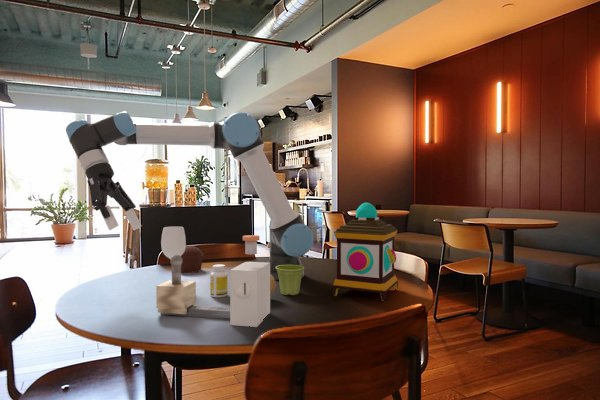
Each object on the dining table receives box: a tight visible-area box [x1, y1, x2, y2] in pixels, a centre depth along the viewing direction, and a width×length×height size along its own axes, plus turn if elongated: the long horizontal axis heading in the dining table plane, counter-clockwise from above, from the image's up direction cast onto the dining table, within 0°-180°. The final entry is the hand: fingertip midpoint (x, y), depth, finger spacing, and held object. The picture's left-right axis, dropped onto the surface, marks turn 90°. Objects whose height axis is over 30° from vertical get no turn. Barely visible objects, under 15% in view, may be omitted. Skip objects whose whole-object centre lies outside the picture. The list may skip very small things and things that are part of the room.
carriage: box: [155, 255, 197, 314], centre depth 113 cm, size 8×7×15 cm
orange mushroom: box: [242, 234, 260, 255], centre depth 108 cm, size 4×4×5 cm
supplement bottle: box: [209, 263, 228, 298], centre depth 132 cm, size 5×5×10 cm
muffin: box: [181, 245, 205, 274], centre depth 172 cm, size 12×11×10 cm
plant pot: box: [276, 265, 305, 296], centre depth 135 cm, size 9×9×9 cm
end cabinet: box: [229, 261, 271, 328], centre depth 108 cm, size 7×13×14 cm, turn 168°
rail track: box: [160, 305, 230, 320], centre depth 112 cm, size 22×3×2 cm, turn 78°
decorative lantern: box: [332, 202, 399, 301], centre depth 136 cm, size 20×20×30 cm
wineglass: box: [160, 226, 187, 260], centre depth 142 cm, size 9×9×21 cm
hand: (126, 228), depth 124 cm, fingers open, 13 cm apart
